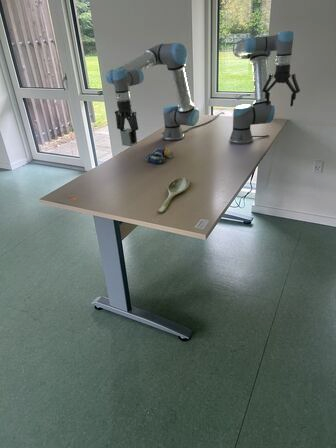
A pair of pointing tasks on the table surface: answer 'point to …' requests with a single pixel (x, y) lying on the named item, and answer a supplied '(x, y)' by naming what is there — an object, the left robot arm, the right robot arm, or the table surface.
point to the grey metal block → (127, 137)
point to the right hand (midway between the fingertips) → (279, 105)
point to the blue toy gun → (159, 155)
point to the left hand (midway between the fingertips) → (129, 141)
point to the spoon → (175, 190)
